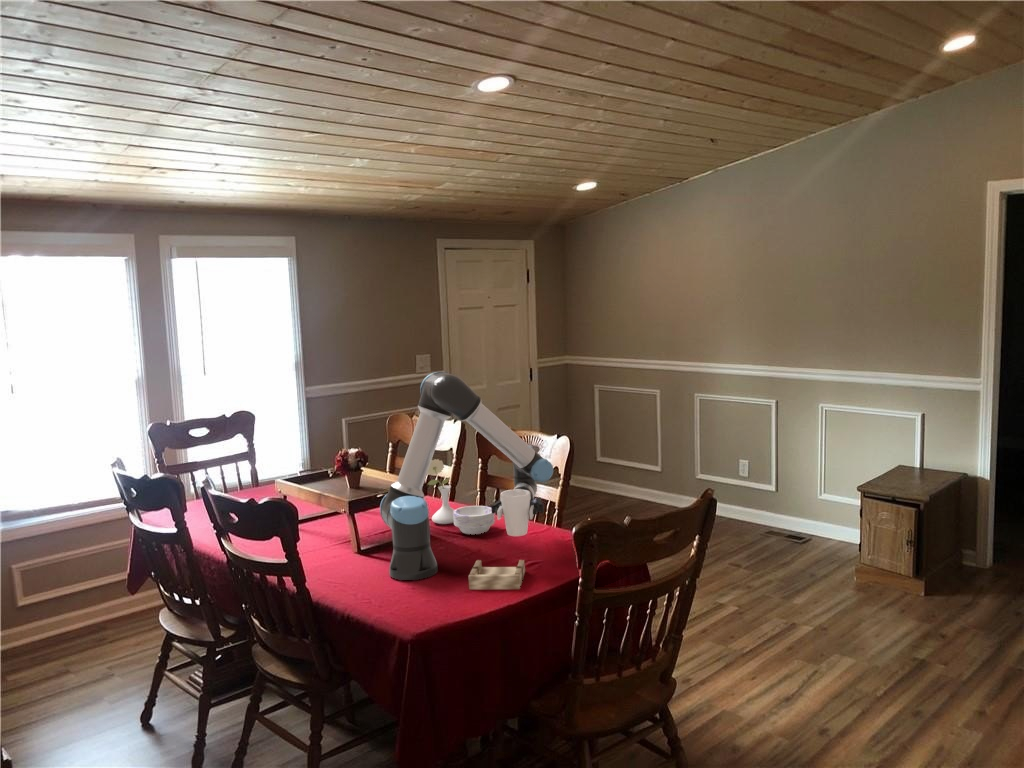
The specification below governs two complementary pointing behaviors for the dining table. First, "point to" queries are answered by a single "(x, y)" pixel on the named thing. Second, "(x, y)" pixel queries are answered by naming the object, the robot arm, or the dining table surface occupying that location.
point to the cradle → (496, 576)
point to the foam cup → (516, 511)
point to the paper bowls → (474, 519)
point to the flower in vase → (445, 511)
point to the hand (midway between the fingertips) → (514, 515)
